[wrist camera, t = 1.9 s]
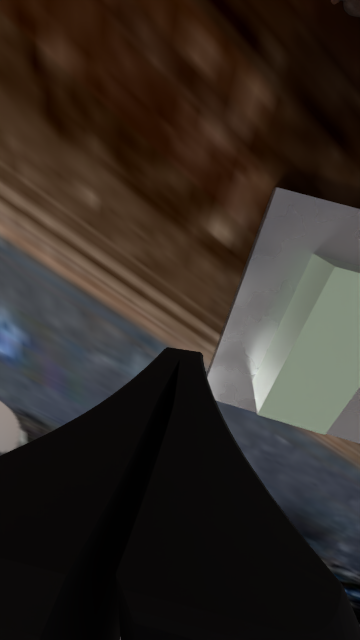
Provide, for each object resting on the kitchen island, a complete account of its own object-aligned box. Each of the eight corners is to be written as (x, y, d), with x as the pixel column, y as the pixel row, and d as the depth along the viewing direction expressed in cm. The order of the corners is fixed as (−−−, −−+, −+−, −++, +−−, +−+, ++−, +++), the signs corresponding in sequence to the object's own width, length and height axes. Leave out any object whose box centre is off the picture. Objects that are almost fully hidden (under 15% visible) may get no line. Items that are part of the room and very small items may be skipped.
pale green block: (388, 273, 13) (428, 292, 11) (309, 398, 17) (324, 434, 15) (313, 253, 13) (335, 266, 11) (252, 381, 17) (257, 414, 15)
